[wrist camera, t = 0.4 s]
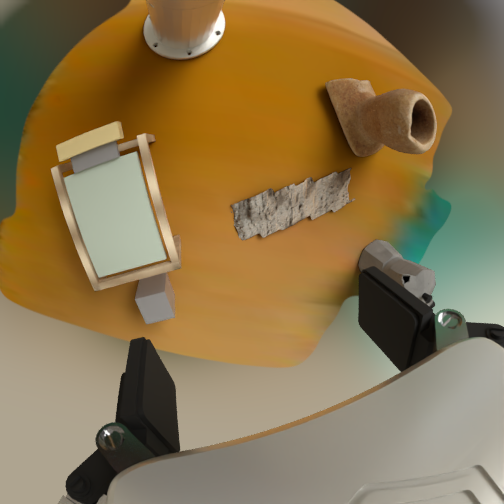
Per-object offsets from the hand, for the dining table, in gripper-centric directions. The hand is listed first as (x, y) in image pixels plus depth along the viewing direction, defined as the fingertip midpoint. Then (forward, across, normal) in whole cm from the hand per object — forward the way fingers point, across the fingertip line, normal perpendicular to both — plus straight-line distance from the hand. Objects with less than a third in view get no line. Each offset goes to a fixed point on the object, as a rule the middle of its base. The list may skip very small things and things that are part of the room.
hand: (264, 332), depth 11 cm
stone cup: (+35, -30, -8) cm, 47 cm away
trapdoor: (+25, +12, -4) cm, 28 cm away
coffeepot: (+36, -32, +23) cm, 53 cm away
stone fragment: (+36, -16, +5) cm, 40 cm away
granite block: (+36, +12, +14) cm, 40 cm away
